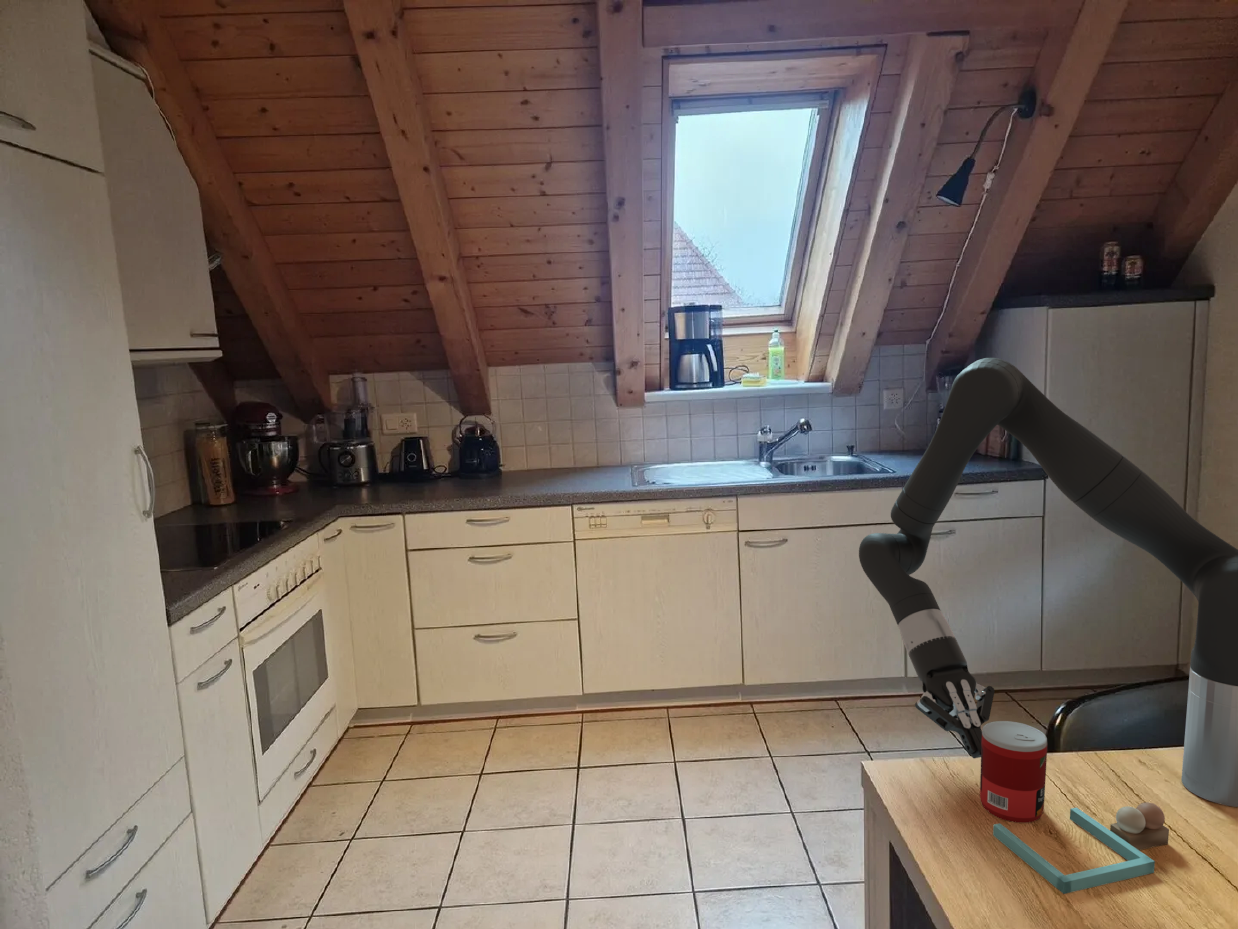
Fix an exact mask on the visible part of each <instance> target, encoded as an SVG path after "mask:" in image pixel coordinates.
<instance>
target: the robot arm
mask: <svg viewBox="0 0 1238 929" xmlns="http://www.w3.org/2000/svg"><path fill="white" fill-rule="evenodd" d="M997 426H999V427H1000V428H1002V430H1004V431H1005V432H1006V433H1008V434H1010V435H1011V436H1012V437H1014V438H1015V439H1016V440H1017V441H1019V442H1020V443H1021V444H1022V445H1023V446H1024V448H1026V449H1027V451H1029V452H1030V454H1031V455H1032V456H1033V457H1034V459H1035V460H1036V461H1037V463H1038V464H1039V465H1040V467H1041V468H1042V469H1043V471H1044V472H1045V474H1046V475H1047V476H1048V478H1049V479H1050V480H1051V481H1052V483H1053V484H1054V485H1055V486H1056V487H1057V489H1058V490H1059V491H1060V492H1061V493H1062V494H1063V495H1064V496H1065V497H1067V499H1069V500H1070V501H1071V502H1072V503H1073V504H1074V505H1076V506H1077V507H1078V508H1079V509H1080V510H1082V511H1083V512H1084V513H1085V514H1086V515H1088V517H1090V518H1091V519H1092V520H1094V521H1095V522H1097V523H1098V524H1099V525H1101V526H1102V527H1104V528H1105V529H1107V530H1108V531H1110V532H1112V533H1114V534H1115V535H1116V536H1119V537H1120V538H1122V539H1124V540H1126V542H1127V541H1128V542H1129V543H1131V544H1132V545H1134V546H1136V547H1137V548H1140V549H1142V550H1144V551H1145V552H1147V553H1148V554H1150V555H1152V556H1153V557H1154V558H1155V559H1156V560H1158V561H1159V562H1160V563H1161V564H1163V566H1165V567H1166V568H1167V569H1168V570H1169V571H1170V572H1172V574H1173V575H1174V576H1176V577H1177V578H1178V579H1179V580H1180V581H1181V582H1182V584H1184V585H1185V586H1186V588H1187V589H1188V590H1189V591H1190V592H1191V593H1192V594H1193V596H1194V597H1195V598H1196V600H1197V602H1198V605H1197V618H1196V619H1197V620H1196V630H1195V640H1194V645H1193V647H1192V649H1191V652H1190V663H1189V664H1190V665H1189V675H1188V677H1189V678H1188V690H1187V692H1188V693H1187V702H1186V703H1187V704H1186V705H1187V706H1186V718H1185V730H1184V744H1183V754H1182V769H1181V784H1182V785H1183V786H1184V787H1185V788H1186V789H1187V790H1188V791H1189V792H1191V793H1193V794H1194V795H1196V796H1198V797H1199V798H1202V799H1204V800H1206V801H1209V802H1213V803H1216V804H1219V805H1224V806H1227V807H1228V806H1230V807H1235V808H1237V807H1238V548H1237V547H1235V546H1233V545H1231V544H1230V543H1228V542H1227V541H1226V540H1224V539H1223V538H1221V537H1220V536H1218V535H1216V534H1215V533H1213V532H1212V531H1211V530H1209V529H1207V528H1206V527H1205V526H1203V524H1200V523H1199V521H1197V520H1196V519H1194V518H1193V517H1192V516H1191V515H1190V514H1189V513H1188V512H1187V511H1186V510H1185V509H1184V508H1183V507H1182V506H1181V505H1180V504H1179V503H1178V502H1177V501H1176V500H1175V499H1174V497H1172V496H1171V495H1170V494H1169V493H1168V492H1167V491H1165V489H1164V488H1162V487H1161V486H1160V485H1159V484H1158V483H1157V482H1155V481H1154V479H1152V478H1151V477H1150V476H1149V475H1148V474H1146V473H1145V472H1144V471H1143V470H1141V469H1140V468H1139V467H1138V466H1137V465H1135V464H1134V463H1133V462H1132V461H1130V460H1129V459H1128V458H1127V457H1126V456H1124V455H1123V454H1121V452H1119V451H1117V450H1116V449H1115V448H1113V447H1112V446H1111V445H1109V444H1108V443H1107V442H1105V441H1104V440H1103V439H1102V438H1100V437H1099V436H1098V435H1096V434H1095V433H1094V432H1092V431H1091V430H1089V429H1088V428H1087V427H1085V426H1083V425H1082V424H1081V423H1079V422H1078V421H1077V420H1074V419H1073V418H1072V417H1071V416H1069V415H1068V414H1067V413H1065V412H1064V411H1062V409H1060V408H1059V407H1057V406H1056V404H1054V403H1053V402H1052V401H1051V400H1050V399H1049V398H1048V397H1047V396H1046V395H1045V394H1043V392H1041V390H1039V388H1037V386H1036V385H1035V384H1034V383H1033V382H1031V381H1030V379H1028V377H1026V375H1025V374H1024V373H1023V372H1021V371H1020V369H1018V368H1017V367H1016V366H1015V365H1014V364H1012V363H1011V362H1009V361H1006V360H1004V359H1002V358H998V357H985V358H981V359H978V360H976V361H974V362H972V363H971V364H969V365H967V367H965V368H964V369H962V371H960V373H958V374H957V376H956V377H955V378H954V380H953V382H952V385H951V387H950V391H949V394H948V397H947V400H946V404H945V407H944V409H943V411H942V414H941V418H940V421H939V423H938V425H937V427H936V430H935V432H934V434H933V436H932V438H931V440H930V443H929V444H928V446H927V448H926V450H925V451H924V453H923V455H922V456H921V458H920V460H918V463H917V465H916V466H915V467H914V469H913V471H912V473H911V475H910V476H909V478H908V480H907V481H906V483H905V484H904V486H903V488H902V490H901V492H900V493H899V494H898V496H897V498H896V500H895V502H894V504H893V506H892V507H891V510H890V519H891V521H892V523H893V524H894V525H895V526H896V528H898V529H899V531H898V532H897V533H887V532H886V533H884V532H882V533H881V532H875V533H873V532H872V533H870V534H868V535H866V536H865V537H864V538H863V539H862V540H861V542H860V544H859V547H858V559H859V563H860V566H861V568H862V570H863V572H864V574H865V575H866V577H867V578H868V580H869V581H870V582H871V583H872V586H874V588H875V589H876V590H877V591H878V593H879V594H880V596H881V597H883V599H884V600H885V601H886V603H887V604H888V605H889V608H890V610H891V613H892V615H893V617H894V620H895V622H896V624H897V627H898V629H899V630H898V631H899V634H900V637H901V640H902V643H903V644H904V647H905V650H906V652H907V655H908V656H909V659H910V661H911V663H912V666H913V668H914V671H915V673H916V675H917V678H918V680H919V681H921V683H922V684H921V686H922V687H921V688H922V692H923V693H922V695H921V697H920V698H919V699H918V700H917V701H916V702H915V703H914V707H915V708H916V709H917V710H918V711H919V712H921V713H922V714H923V715H925V716H926V717H927V718H929V719H930V720H931V721H932V722H933V723H935V724H936V725H937V726H938V727H940V728H941V729H942V730H944V731H945V732H950V731H951V732H955V733H957V734H958V735H959V738H960V740H961V741H962V744H963V745H964V749H965V751H966V753H968V755H969V756H971V757H972V758H973V759H979V758H981V742H982V731H983V729H982V725H983V724H984V723H986V722H988V721H989V720H990V716H991V711H992V710H991V709H992V706H993V700H994V697H995V696H994V695H995V688H994V686H991V685H988V686H983V685H981V684H980V683H978V682H977V679H976V678H975V677H974V676H973V675H972V673H970V671H969V668H968V662H967V659H966V657H965V655H964V653H963V650H962V649H961V647H960V645H959V642H958V641H957V638H956V636H955V634H954V632H953V630H952V628H951V626H950V624H949V622H948V620H947V619H946V617H945V616H944V614H943V612H942V610H941V609H940V606H939V603H938V601H937V600H936V598H935V596H934V593H933V592H932V590H931V588H930V586H929V584H927V582H926V581H923V580H921V579H918V578H916V577H915V578H914V577H913V576H911V575H913V574H914V573H915V572H916V571H918V570H919V569H920V567H921V566H922V564H923V563H924V562H925V559H926V556H927V552H928V549H929V545H930V541H931V539H932V538H931V536H932V533H933V532H932V531H933V529H934V527H935V525H936V524H937V522H938V520H939V519H940V517H941V515H942V513H943V512H944V510H945V508H946V507H947V505H948V504H949V502H950V500H951V499H952V496H953V494H954V492H955V490H956V488H957V486H958V484H959V482H960V479H961V477H962V475H963V473H964V470H965V469H966V467H967V465H968V464H969V461H970V460H971V458H972V457H973V455H974V454H975V452H976V450H978V448H979V446H980V445H981V444H982V442H984V440H985V439H986V438H987V437H988V436H989V434H990V433H992V431H993V430H995V428H996V427H997ZM975 700H976V702H975Z"/></svg>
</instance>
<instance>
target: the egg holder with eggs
mask: <svg viewBox="0 0 1238 929" xmlns="http://www.w3.org/2000/svg"><path fill="white" fill-rule="evenodd" d="M1165 819H1166V817H1165V813H1164V811H1163V810H1162V809H1161V808H1160V806H1158V805H1157V804H1155V803H1153V802H1149V801H1147V802H1142V803H1140V804H1138V805H1137V806H1136V807H1134V806H1126V805H1125V806H1122V807H1120V808H1119V809H1118V810H1117V811H1116V815H1115V821H1116V822H1115V823H1110V825H1109V826H1110V828H1109V830H1110V831H1112V832H1113V833H1114V834H1116V835H1117V836H1119V837H1120V838H1122V839H1123V840H1125V841H1126V842H1127V843H1129V844H1130V845H1132V846H1133V847H1135V848H1136V849H1138V850H1139V851H1141V850H1145V849H1146V850H1147V849H1150V848H1154V847H1158V846H1159V847H1160V846H1164V845H1167V844H1169V834H1170V829H1169V828H1168V827H1167V826H1165V825H1164V824H1165V821H1166V820H1165Z"/></svg>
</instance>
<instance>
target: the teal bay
mask: <svg viewBox="0 0 1238 929" xmlns="http://www.w3.org/2000/svg"><path fill="white" fill-rule="evenodd" d="M1069 820H1071V821H1072V822H1073V823H1075V824H1076V825H1077V826H1079V827H1081V829H1083V830H1084V831H1086V832H1087V833H1088V834H1090V835H1091V836H1093V837H1094V838H1096V839H1097V840H1099V841H1100V842H1101V843H1103V844H1104V845H1105V846H1107V847H1108V848H1110V849H1111V850H1113V851H1114V852H1115V853H1116V854H1117V855H1120V856H1121V857H1122V858H1124V859H1125V860H1126V861H1121V862H1118V863H1113V864H1110V865H1104V866H1100V867H1095V868H1091V869H1088V870H1081V871H1079V872H1074V873H1069V874H1064V873H1062V872H1061V871H1060V870H1059V869H1058V868H1056V867H1055V866H1054V865H1053V864H1051V863H1050V862H1049V861H1047V860H1046V859H1045V858H1044V857H1043V856H1042V855H1040V854H1039V853H1038V852H1037V851H1035V850H1034V849H1032V847H1031V846H1029V845H1028V844H1026V843H1025V842H1024V841H1023V840H1021V839H1020V838H1019V837H1018V836H1017V835H1016V834H1014V833H1013V832H1012V831H1011V830H1009V829H1008V828H1007V827H1006V826H1004V825H1003V824H1002V823H1000V822H999V823H994V824H993V828H992V836H993V837H994V838H996V839H997V840H999V842H1001V843H1002V844H1003V845H1004V846H1006V847H1007V848H1008V849H1009V850H1010V851H1012V852H1013V853H1014V854H1015V855H1017V857H1019V858H1020V859H1021V860H1022V861H1023V862H1024V863H1026V864H1027V865H1028V866H1030V867H1031V868H1032V869H1033V870H1034V871H1035V872H1036V873H1038V875H1040V876H1041V877H1043V878H1044V879H1045V880H1046V881H1047V882H1048V883H1050V884H1051V885H1052V886H1053V887H1054V888H1055V889H1057V890H1058V891H1059V892H1061V894H1063V895H1066V894H1069V893H1073V892H1078V891H1082V890H1086V889H1090V888H1095V887H1100V886H1103V885H1108V884H1112V883H1116V882H1120V881H1121V882H1122V881H1125V880H1129V879H1133V878H1137V877H1141V876H1146V875H1150V874H1154V873H1155V864H1156V861H1155V860H1153V859H1152V858H1151V857H1149V856H1148V855H1147V854H1145V853H1143V852H1142V851H1141V850H1138V849H1136V848H1135V847H1133V846H1132V845H1130V844H1129V843H1127V842H1126V841H1125V840H1123V839H1122V838H1120V837H1119V836H1117V835H1116V834H1114V833H1113V832H1112V831H1110V828H1107V827H1106V826H1105V825H1103V824H1101V823H1100V822H1099V821H1097V820H1096V819H1094V818H1092V817H1091V816H1090V815H1088V813H1085V812H1084V811H1082V810H1081V809H1079V808H1078V807H1072V808H1070V809H1069Z"/></svg>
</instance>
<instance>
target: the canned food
mask: <svg viewBox="0 0 1238 929" xmlns="http://www.w3.org/2000/svg"><path fill="white" fill-rule="evenodd" d="M1047 755H1048V738H1047V736H1046V735H1045V733H1044V732H1042V731H1041V730H1039V729H1038V728H1036V727H1033V726H1031V725H1028V724H1026V723H1022V722H1016V721H1011V720H997V721H992V722H991V721H990V722H988V723H986V724H984V725H983V726H982V742H981V757H980V779H979V782H980V784H979V798H980V803H981V805H982V807H983V809H984V810H985V811H987V813H989V814H990V815H992V816H993V817H995V818H998V819H1000V820H1004V821H1007V822H1012V823H1019V824H1027V823H1032V822H1036V821H1038V820H1039V819H1040V818H1041V817H1042V815H1043V813H1044V810H1045V792H1046V777H1047V774H1046V773H1047V761H1048V756H1047Z"/></svg>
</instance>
